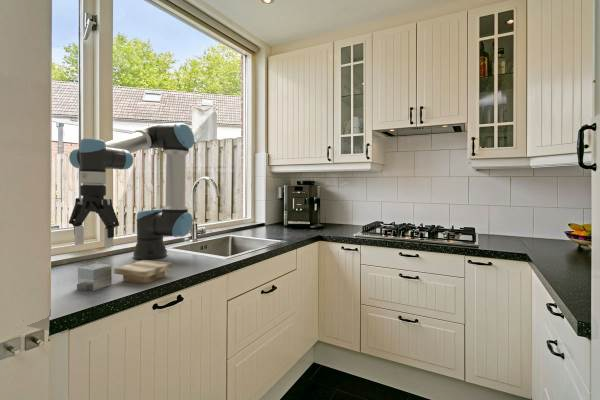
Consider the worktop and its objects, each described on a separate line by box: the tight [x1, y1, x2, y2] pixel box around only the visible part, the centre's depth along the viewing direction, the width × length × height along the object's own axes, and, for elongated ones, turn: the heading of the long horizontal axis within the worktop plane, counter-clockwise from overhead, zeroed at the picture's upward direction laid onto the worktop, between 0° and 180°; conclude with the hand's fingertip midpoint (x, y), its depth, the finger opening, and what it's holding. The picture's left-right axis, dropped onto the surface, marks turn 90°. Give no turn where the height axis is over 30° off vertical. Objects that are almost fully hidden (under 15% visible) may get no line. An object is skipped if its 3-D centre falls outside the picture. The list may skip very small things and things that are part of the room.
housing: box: [76, 262, 113, 292], centre depth 113 cm, size 9×7×7 cm
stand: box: [113, 259, 173, 285], centre depth 123 cm, size 14×14×5 cm
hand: (93, 246), depth 113 cm, fingers open, 13 cm apart
